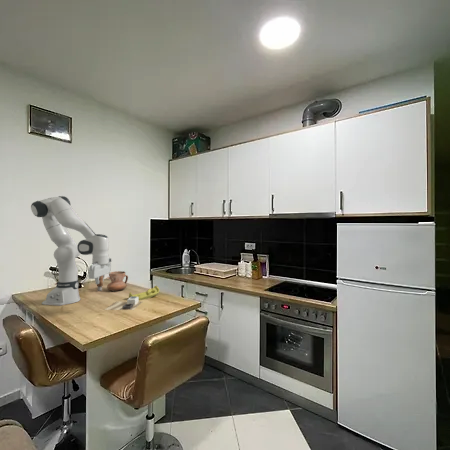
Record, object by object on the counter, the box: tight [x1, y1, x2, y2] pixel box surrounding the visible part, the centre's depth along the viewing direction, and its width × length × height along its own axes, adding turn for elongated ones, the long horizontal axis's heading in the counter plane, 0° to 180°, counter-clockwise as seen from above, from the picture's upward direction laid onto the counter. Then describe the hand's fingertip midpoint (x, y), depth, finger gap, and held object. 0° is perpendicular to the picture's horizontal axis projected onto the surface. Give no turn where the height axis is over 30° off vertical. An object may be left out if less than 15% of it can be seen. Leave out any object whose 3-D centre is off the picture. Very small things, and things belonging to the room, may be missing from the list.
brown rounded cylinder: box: [96, 275, 104, 292], centre depth 152 cm, size 3×3×10 cm
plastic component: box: [128, 285, 160, 301], centre depth 176 cm, size 20×7×10 cm
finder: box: [126, 296, 140, 305], centre depth 161 cm, size 6×5×4 cm
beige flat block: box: [103, 301, 143, 311], centre depth 157 cm, size 18×16×3 cm
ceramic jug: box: [106, 270, 129, 292], centre depth 200 cm, size 18×14×14 cm
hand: (99, 283), depth 152 cm, fingers closed on brown rounded cylinder, 3 cm apart
